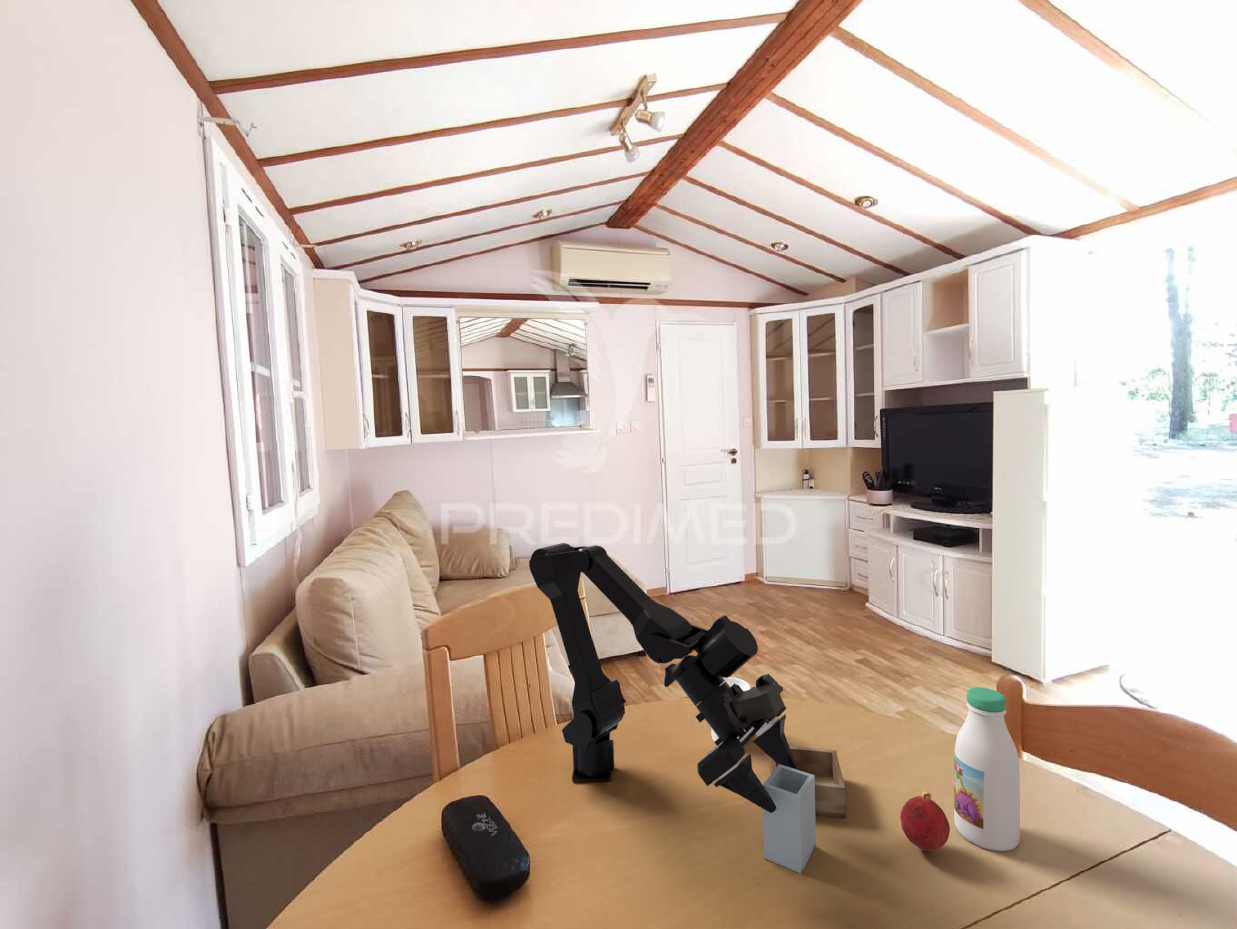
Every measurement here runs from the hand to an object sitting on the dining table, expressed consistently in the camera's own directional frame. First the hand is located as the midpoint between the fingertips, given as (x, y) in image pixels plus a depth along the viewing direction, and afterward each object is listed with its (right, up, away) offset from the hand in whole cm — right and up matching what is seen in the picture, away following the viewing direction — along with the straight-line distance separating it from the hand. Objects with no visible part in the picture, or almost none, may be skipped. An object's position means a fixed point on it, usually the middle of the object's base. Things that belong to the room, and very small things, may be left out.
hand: (786, 792), depth 79 cm
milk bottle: (+29, -7, +3) cm, 30 cm away
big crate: (+7, -7, +13) cm, 16 cm away
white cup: (-2, -7, +30) cm, 31 cm away
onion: (+19, -8, 0) cm, 20 cm away
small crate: (+1, -8, 0) cm, 8 cm away
